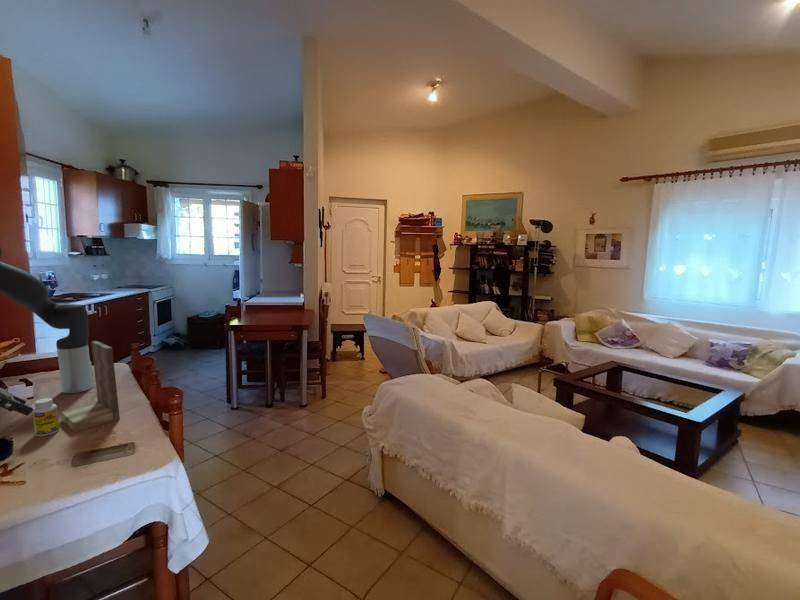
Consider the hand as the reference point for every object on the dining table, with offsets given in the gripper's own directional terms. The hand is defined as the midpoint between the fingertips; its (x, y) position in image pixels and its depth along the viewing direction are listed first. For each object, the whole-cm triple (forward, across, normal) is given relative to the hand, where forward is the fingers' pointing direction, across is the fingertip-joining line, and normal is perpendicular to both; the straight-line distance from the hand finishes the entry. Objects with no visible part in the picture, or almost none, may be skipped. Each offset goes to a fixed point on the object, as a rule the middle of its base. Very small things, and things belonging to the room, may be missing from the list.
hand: (26, 408), depth 116 cm
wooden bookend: (+16, 0, -3) cm, 16 cm away
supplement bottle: (+9, 0, +4) cm, 10 cm away
